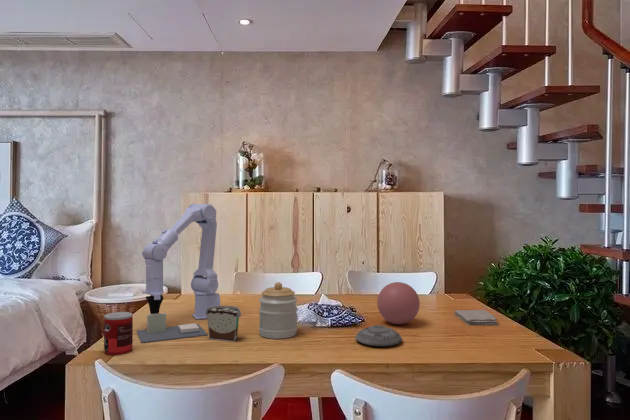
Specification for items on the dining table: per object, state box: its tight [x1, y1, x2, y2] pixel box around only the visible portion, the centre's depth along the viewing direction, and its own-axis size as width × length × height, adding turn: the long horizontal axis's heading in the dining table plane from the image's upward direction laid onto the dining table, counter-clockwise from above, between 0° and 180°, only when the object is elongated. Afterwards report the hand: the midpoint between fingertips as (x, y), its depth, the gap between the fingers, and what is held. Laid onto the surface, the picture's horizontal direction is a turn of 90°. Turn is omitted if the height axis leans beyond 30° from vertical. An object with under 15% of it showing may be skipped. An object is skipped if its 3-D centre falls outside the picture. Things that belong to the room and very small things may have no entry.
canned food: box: [103, 311, 134, 356], centre depth 141 cm, size 8×8×11 cm
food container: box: [206, 305, 242, 343], centre depth 155 cm, size 12×6×10 cm, turn 71°
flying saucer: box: [354, 324, 403, 347], centre depth 152 cm, size 15×15×6 cm
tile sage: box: [146, 312, 167, 333], centre depth 161 cm, size 6×2×6 cm, turn 116°
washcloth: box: [453, 309, 498, 327], centre depth 181 cm, size 12×18×3 cm, turn 1°
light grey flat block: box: [177, 323, 199, 334], centre depth 162 cm, size 6×2×6 cm
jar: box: [258, 281, 298, 340], centre depth 160 cm, size 13×13×18 cm
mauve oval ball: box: [377, 281, 421, 325], centre depth 177 cm, size 15×20×15 cm
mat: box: [136, 323, 209, 344], centre depth 160 cm, size 21×15×1 cm
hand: (154, 316), depth 165 cm, fingers closed
